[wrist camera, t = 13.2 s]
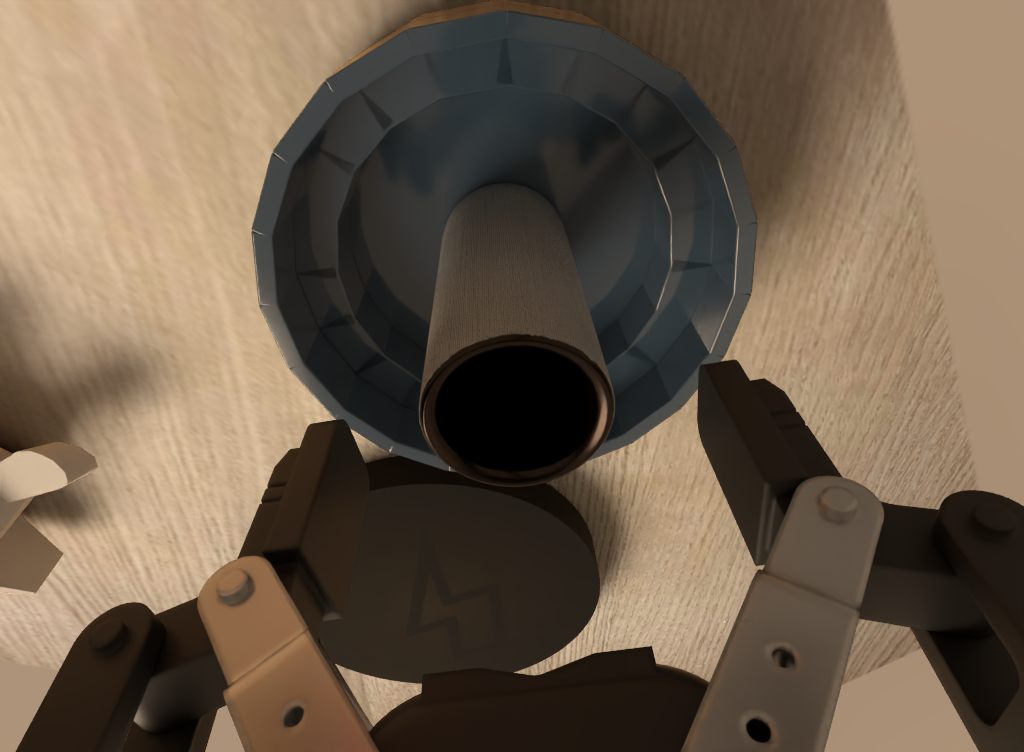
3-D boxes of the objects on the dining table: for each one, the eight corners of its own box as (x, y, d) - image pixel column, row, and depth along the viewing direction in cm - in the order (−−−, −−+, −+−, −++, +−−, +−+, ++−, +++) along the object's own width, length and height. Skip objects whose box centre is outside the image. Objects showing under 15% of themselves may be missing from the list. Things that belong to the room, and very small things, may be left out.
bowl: (224, 51, 19) (151, 78, 14) (711, -44, 18) (780, -45, 14) (369, 419, 27) (349, 500, 23) (700, 368, 26) (740, 443, 22)
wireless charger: (466, 395, 27) (465, 424, 25) (649, 583, 35) (657, 613, 34) (208, 552, 32) (193, 584, 31) (422, 682, 41) (419, 712, 39)
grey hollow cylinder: (421, 211, 21) (380, 378, 13) (539, 160, 20) (580, 304, 12) (473, 313, 24) (468, 510, 15) (581, 271, 23) (638, 455, 14)
